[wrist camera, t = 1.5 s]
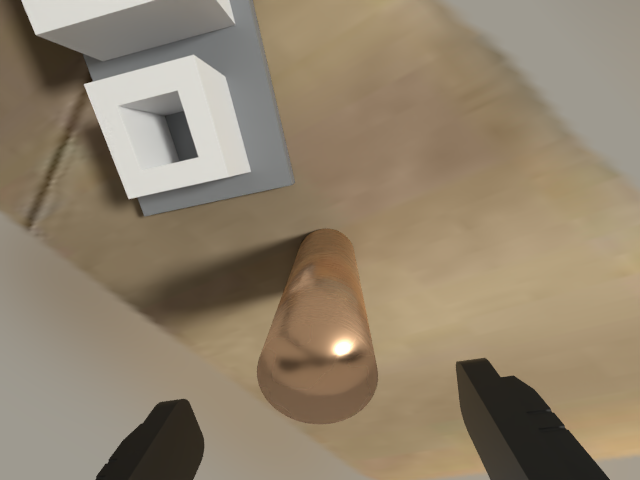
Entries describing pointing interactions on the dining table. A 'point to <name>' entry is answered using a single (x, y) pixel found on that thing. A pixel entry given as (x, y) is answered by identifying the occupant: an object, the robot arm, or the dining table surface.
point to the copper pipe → (320, 337)
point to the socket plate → (176, 95)
